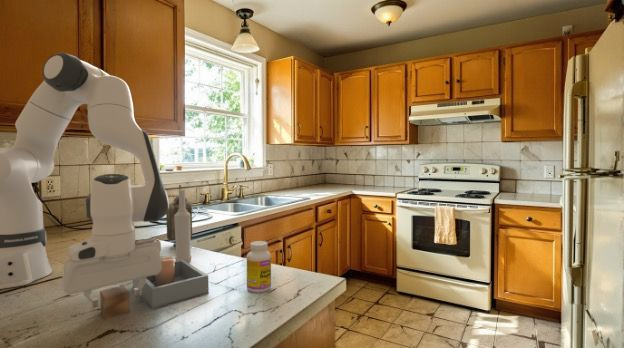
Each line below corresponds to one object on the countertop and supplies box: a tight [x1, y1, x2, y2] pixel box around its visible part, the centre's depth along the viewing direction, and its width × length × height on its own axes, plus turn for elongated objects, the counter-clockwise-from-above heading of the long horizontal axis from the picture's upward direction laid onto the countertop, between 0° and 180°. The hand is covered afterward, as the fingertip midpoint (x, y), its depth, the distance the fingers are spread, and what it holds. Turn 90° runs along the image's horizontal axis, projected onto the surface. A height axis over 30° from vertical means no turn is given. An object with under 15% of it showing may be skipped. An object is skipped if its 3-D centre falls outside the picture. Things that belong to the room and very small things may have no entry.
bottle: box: [174, 189, 192, 264], centre depth 116 cm, size 5×5×25 cm
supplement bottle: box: [246, 240, 272, 294], centre depth 93 cm, size 7×7×13 cm
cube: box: [99, 285, 131, 320], centre depth 80 cm, size 5×5×5 cm
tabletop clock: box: [165, 184, 193, 248], centre depth 135 cm, size 14×9×25 cm, turn 20°
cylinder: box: [155, 256, 176, 287], centre depth 95 cm, size 5×5×7 cm
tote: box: [132, 260, 209, 311], centre depth 92 cm, size 14×18×5 cm
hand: (116, 301), depth 80 cm, fingers open, 8 cm apart
